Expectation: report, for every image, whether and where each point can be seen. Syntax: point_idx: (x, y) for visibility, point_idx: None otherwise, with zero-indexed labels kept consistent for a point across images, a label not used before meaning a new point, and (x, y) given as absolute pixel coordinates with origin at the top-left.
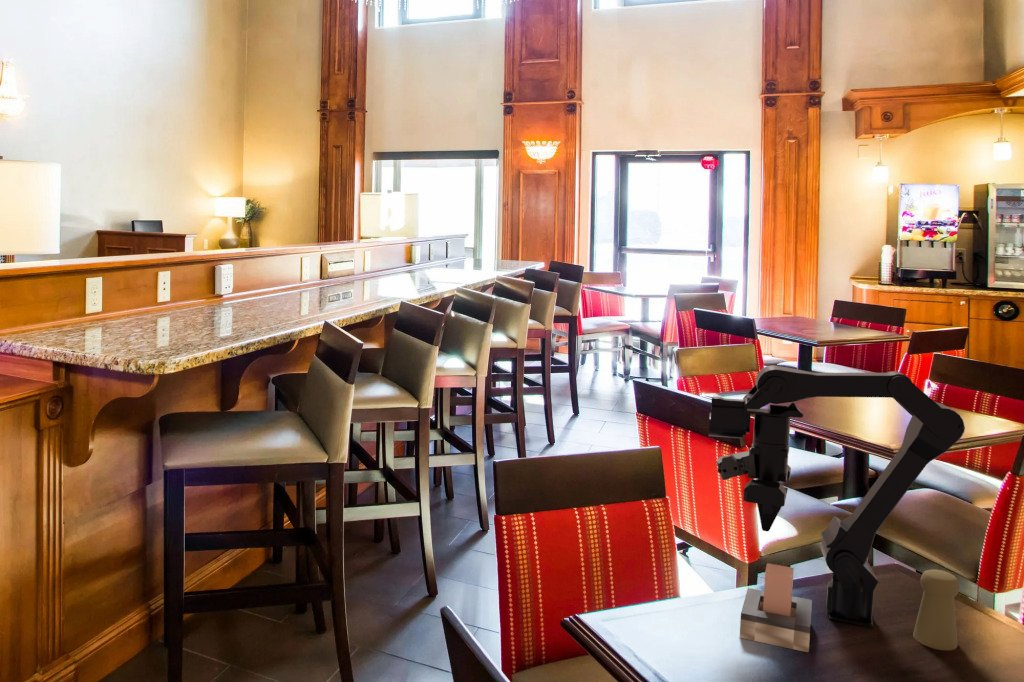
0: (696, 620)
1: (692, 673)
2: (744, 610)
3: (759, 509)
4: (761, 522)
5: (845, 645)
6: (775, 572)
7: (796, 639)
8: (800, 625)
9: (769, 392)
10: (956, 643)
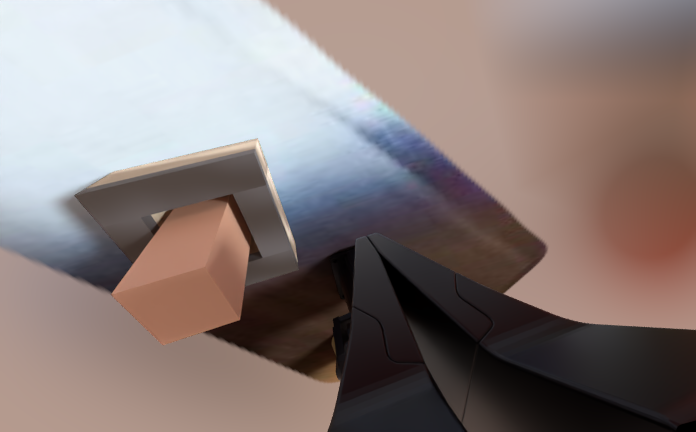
0: (81, 41)
1: None
2: (101, 196)
3: (350, 340)
4: (355, 264)
5: (260, 293)
6: (148, 310)
7: None
8: None
9: None
10: None
